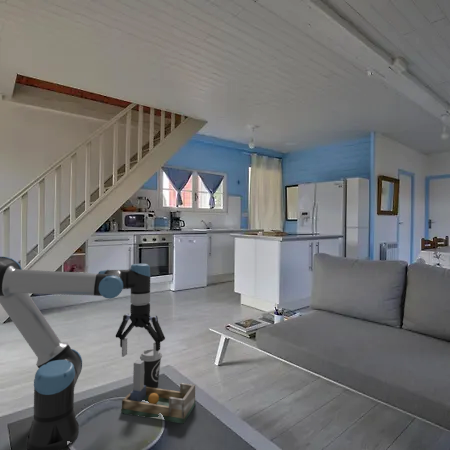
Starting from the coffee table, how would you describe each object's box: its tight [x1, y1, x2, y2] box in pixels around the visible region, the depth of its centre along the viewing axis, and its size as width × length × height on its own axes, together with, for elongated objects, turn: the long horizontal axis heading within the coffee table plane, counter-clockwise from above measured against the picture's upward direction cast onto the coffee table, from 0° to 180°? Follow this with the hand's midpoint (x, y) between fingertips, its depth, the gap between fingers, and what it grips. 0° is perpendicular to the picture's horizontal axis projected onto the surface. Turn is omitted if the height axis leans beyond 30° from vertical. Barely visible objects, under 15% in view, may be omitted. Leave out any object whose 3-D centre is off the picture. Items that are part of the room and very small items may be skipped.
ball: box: [148, 393, 159, 404], centre depth 123 cm, size 4×4×4 cm
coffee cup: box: [139, 348, 163, 388], centre depth 140 cm, size 10×10×15 cm
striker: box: [129, 359, 146, 402], centre depth 125 cm, size 3×7×15 cm, turn 167°
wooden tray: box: [120, 382, 196, 425], centre depth 123 cm, size 25×13×8 cm, turn 76°
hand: (139, 357), depth 125 cm, fingers open, 13 cm apart
